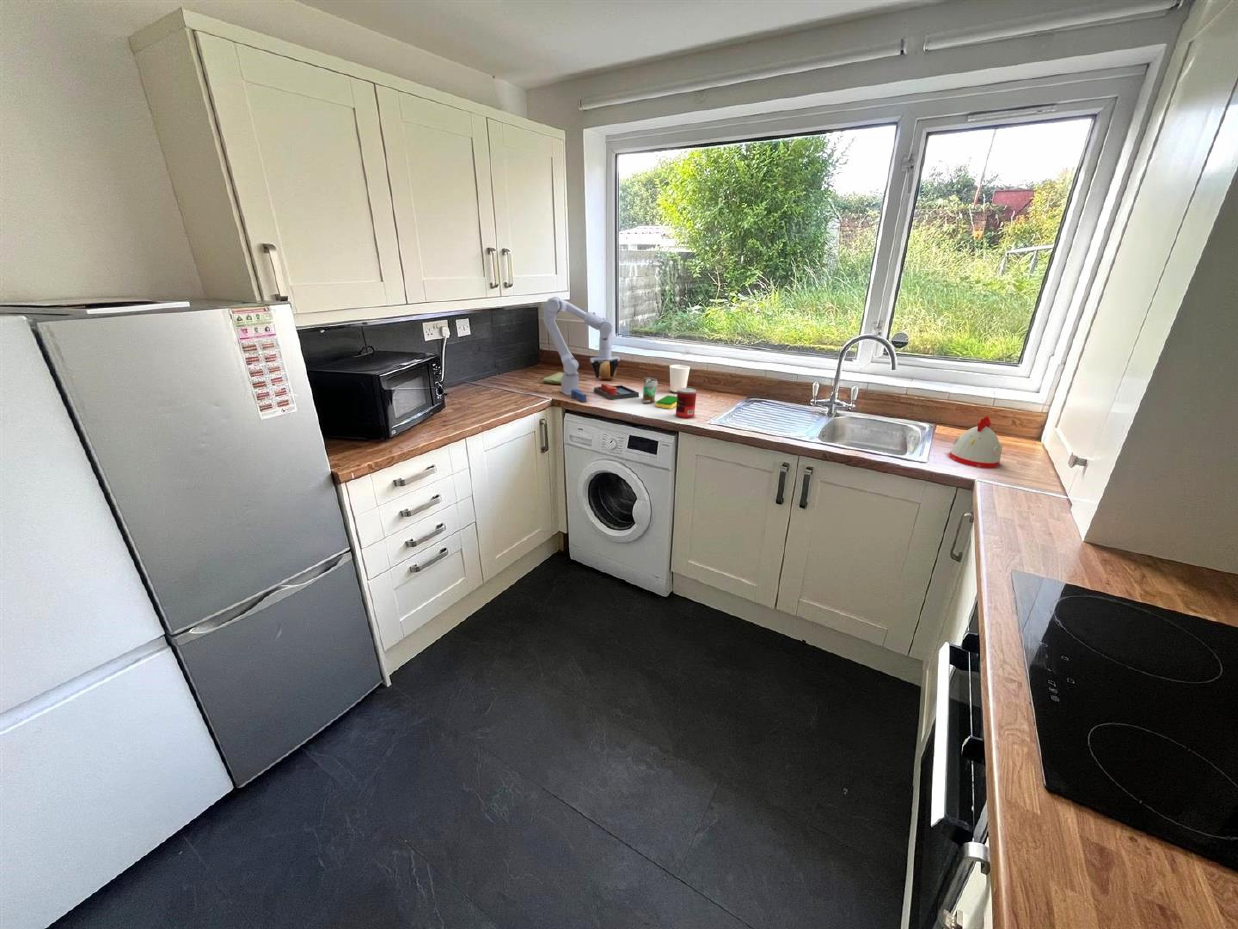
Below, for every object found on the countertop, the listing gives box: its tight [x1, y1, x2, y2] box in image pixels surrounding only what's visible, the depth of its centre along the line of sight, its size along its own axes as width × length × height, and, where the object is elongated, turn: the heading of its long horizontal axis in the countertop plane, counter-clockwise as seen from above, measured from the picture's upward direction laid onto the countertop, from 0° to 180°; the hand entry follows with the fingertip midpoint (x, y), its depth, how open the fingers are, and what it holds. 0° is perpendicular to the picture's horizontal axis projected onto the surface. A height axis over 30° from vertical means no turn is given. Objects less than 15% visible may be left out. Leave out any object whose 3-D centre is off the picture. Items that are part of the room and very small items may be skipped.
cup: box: [669, 364, 691, 394], centre depth 245 cm, size 10×10×13 cm
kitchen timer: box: [948, 416, 1003, 469], centre depth 164 cm, size 14×14×15 cm
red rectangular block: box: [600, 383, 617, 395], centre depth 236 cm, size 4×11×3 cm, turn 28°
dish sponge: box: [655, 395, 677, 410], centre depth 223 cm, size 7×14×2 cm, turn 154°
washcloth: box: [542, 372, 564, 386], centre depth 260 cm, size 13×18×3 cm
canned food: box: [675, 387, 697, 419], centre depth 205 cm, size 8×8×11 cm
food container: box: [642, 376, 659, 405], centre depth 226 cm, size 12×6×10 cm, turn 179°
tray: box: [593, 384, 640, 401], centre depth 238 cm, size 15×17×2 cm
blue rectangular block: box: [570, 388, 587, 403], centre depth 227 cm, size 4×11×3 cm, turn 28°
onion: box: [599, 361, 617, 381], centre depth 267 cm, size 10×10×10 cm
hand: (604, 377), depth 235 cm, fingers open, 7 cm apart
